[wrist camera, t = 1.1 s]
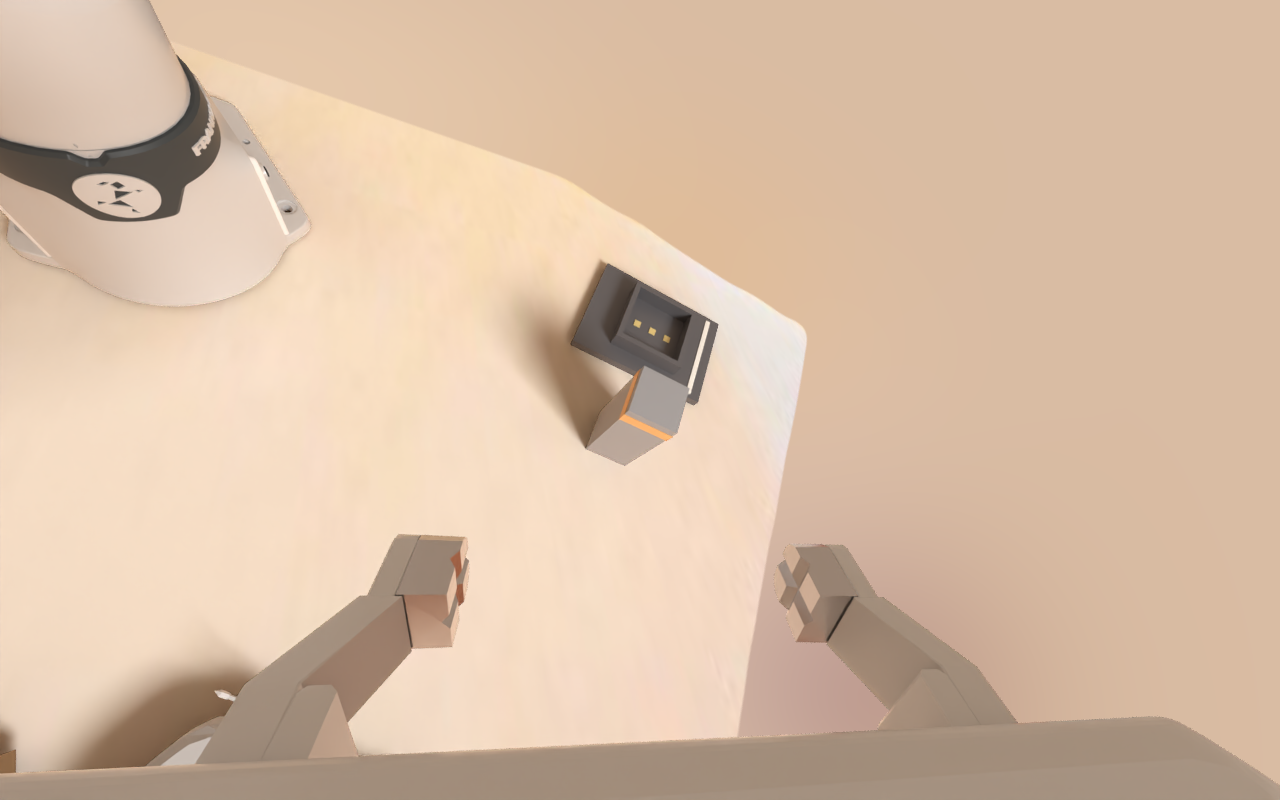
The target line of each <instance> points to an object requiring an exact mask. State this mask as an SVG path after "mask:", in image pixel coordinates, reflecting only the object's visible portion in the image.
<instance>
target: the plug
mask: <svg viewBox="0 0 1280 800" xmlns="http://www.w3.org/2000/svg"><path fill="white" fill-rule="evenodd" d="M689 389H690V388H688V387H686V386H684V385H682V384H680V383H678V382H676V381H674V380H672V379H670V378H668V377H666V376H664V375H662V374H660V373H658V372H656V371H654V370H652V369H650V368H648V367H646V366H643V368H642V369H640V370H639V371H638V372H637V373H636V374H635V375H634V377H633V378H632V379H631V380H630V381H629V382H628V383H627V384H626V385H625V386H624V387H623V388H622V389H621V390H620V391H619V392H618V393H617V394H616V395H615V397H614V398H613V399H612V400H611V401H610V402H609V403H608V404H607V405H606V406H605V407H604V408H603V409H602V410H601V411H600V413H599V415H598V418H597V421H596V423H595V426H594V429H593V431H592V434H591V436H590V439H589V442H588V444H587V447H586V449H587V450H590V451H592V452H594V453H597V454H599V455H601V456H603V457H606V458H608V459H610V460H612V461H615V462H617V463H619V464H622V465H624V466H625V465H627V464H628V463H630V462H632V461H633V460H635V459H636V458H638V457H640V456H641V455H643V454H645V453H646V452H648V451H649V450H651V449H653V448H654V447H656V446H657V445H659V444H661V443H662V442H664V441H667V440H669V439H670V438H672V437H673V436H674V435H675V434H677V432H678V428H679V425H680V421H681V417H682V414H683V410H684V407H685V403H686V399H687V396H688V392H689Z"/></svg>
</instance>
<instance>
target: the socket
mask: <svg viewBox="0 0 1280 800" xmlns="http://www.w3.org/2000/svg"><path fill="white" fill-rule="evenodd" d="M717 328H718V324H717V323H715V322H713V321H712V320H710V319H708V318H706V317H704V316H702V315H701V314H699V313H697V312H695V311H693V310H692V309H690V308H688V307H686V306H684V305H682V304H681V303H679V302H677V301H675V300H673V299H672V298H670V297H668V296H666V295H664V294H662V293H661V292H659V291H657V290H655V289H653V288H652V287H650V286H648V285H646V284H644V283H642V282H641V281H639V280H637V279H635V278H633V277H632V276H630V275H628V274H626V273H624V272H623V271H621V270H619V269H617V268H615V267H613V266H612V265H610V264H607V266H606V268H605V270H604V272H603V274H602V276H601V279H600V281H599V283H598V285H597V287H596V290H595V292H594V294H593V296H592V298H591V301H590V303H589V305H588V307H587V309H586V312H585V314H584V316H583V318H582V320H581V323H580V325H579V327H578V329H577V332H576V334H575V336H574V338H573V340H572V343H571V345H573V346H575V347H577V348H579V349H581V350H583V351H585V352H587V353H589V354H591V355H593V356H595V357H597V358H599V359H601V360H603V361H605V362H607V363H609V364H611V365H613V366H615V367H617V368H619V369H621V370H623V371H625V372H627V373H629V374H631V375H633V376H634V375H635V374H636V373H637V372H638V371H639V370H640V369H642V368H643V366H646V367H648V368H650V369H652V370H654V371H656V372H658V373H660V374H662V375H664V376H666V377H668V378H670V379H672V380H674V381H676V382H678V383H680V384H682V385H684V386H686V387H688V388H690V389H689V392H688V396H687V399H686V402H688V403H690V404H692V405H695V404H696V403H698V400H699V396H700V392H701V389H702V385H703V381H704V377H705V373H706V370H707V366H708V362H709V358H710V355H711V351H712V347H713V343H714V339H715V336H716V332H717Z"/></svg>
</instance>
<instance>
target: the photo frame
mask: <svg viewBox="0 0 1280 800" xmlns="http://www.w3.org/2000/svg"><path fill="white" fill-rule="evenodd" d="M3 773H16V750H13V751H10V752H7V753H4V754H2V755H0V774H3Z"/></svg>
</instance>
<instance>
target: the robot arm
mask: <svg viewBox="0 0 1280 800" xmlns="http://www.w3.org/2000/svg"><path fill="white" fill-rule="evenodd" d="M0 210H1V211H2V212H3V213H4V214H5V215H6V216H7V217H8V218H9V223H8V230H7V242H8V244H9V245H10V246H11V247H12V248H13V249H14V250H15V251H16V252H17V253H18V254H19V255H20V256H22V257H24V258H26V259H29V260H32V261H35V262H39V263H42V264H46V265H50V266H54V267H58V268H62V269H65V270H67V271H70V272H72V273H73V274H75V275H77V276H79V277H80V278H82V279H83V280H85V281H86V282H88V283H89V284H91V285H93V286H94V287H96V288H98V289H100V290H102V291H104V292H106V293H109V294H111V295H114V296H116V297H119V298H122V299H126V300H129V301H133V302H138V303H143V304H149V305H158V306H193V305H201V304H207V303H212V302H216V301H220V300H224V299H227V298H230V297H233V296H235V295H238V294H240V293H242V292H244V291H246V290H248V289H250V288H252V287H253V286H255V285H256V284H258V283H259V282H261V281H262V280H263V279H264V278H265V277H267V276H268V275H269V274H270V273H271V272H272V270H273V269H274V268H275V266H276V265H277V264H278V262H279V260H280V258H281V256H282V255H283V253H284V251H285V250H286V248H287V247H288V246H289V245H291V244H292V243H294V242H295V241H297V240H298V239H300V238H301V237H303V236H304V235H305V234H306V233H308V231H309V230H310V229H311V222H310V220H309V218H308V216H307V214H306V213H305V211H304V210H303V208H302V207H301V205H300V203H299V202H298V200H297V199H296V197H295V196H294V194H293V193H292V191H291V190H290V188H289V187H288V185H287V184H286V182H285V181H284V179H283V178H282V176H281V175H280V173H279V172H278V170H277V168H276V167H275V165H274V164H273V162H272V161H271V159H270V158H269V156H268V155H267V153H266V152H265V150H264V149H263V147H262V146H261V144H260V143H259V141H258V140H257V138H256V137H255V135H254V134H253V132H252V130H251V129H250V127H249V126H248V124H247V123H246V121H245V120H244V118H243V117H242V115H241V114H240V112H239V111H238V110H237V108H236V107H235V106H234V105H232V104H231V103H228V102H226V101H223V100H221V99H218V98H215V97H211V96H209V95H208V93H207V92H206V90H205V89H204V87H203V86H202V84H201V83H200V81H199V80H198V78H197V77H196V76H195V75H194V74H193V73H192V72H191V71H190V70H189V68H188V67H187V65H186V64H185V63H184V62H183V61H182V60H181V59H180V58H179V57H178V56H177V55H176V54H175V52H174V50H173V48H172V46H171V44H170V42H169V40H168V38H167V36H166V34H165V31H164V30H163V27H162V25H161V23H160V21H159V19H158V17H157V15H156V13H155V11H154V9H153V7H152V5H151V3H150V1H149V0H0ZM288 210H289V211H291V212H289V213H286V212H285V211H288ZM467 550H468V541H467V538H466V537H454V536H433V535H405V534H399V535H398V536H397V537H396V538H395V539H394V540H393V542H392V544H391V546H390V548H389V550H388V553H387V555H386V557H385V559H384V561H383V563H382V565H381V567H380V569H379V572H378V574H377V576H376V578H375V580H374V582H373V584H372V586H371V588H370V591H369V593H368V595H367V596H359V597H358V598H356V599H355V600H354V601H352V602H351V603H350V604H348V605H347V606H346V607H345V608H343V609H342V610H341V611H339V612H338V613H337V614H335V615H334V616H333V617H332V618H330V619H329V620H328V621H326V622H325V623H324V624H322V625H321V626H320V627H319V628H317V629H316V630H315V631H313V632H312V633H311V634H309V635H308V636H307V637H306V638H304V639H303V640H302V641H300V642H299V643H298V644H296V645H295V646H294V647H293V648H291V649H290V650H289V651H287V652H286V653H285V654H283V655H282V656H281V657H279V658H278V659H277V660H276V661H274V662H273V663H272V664H270V665H269V666H268V667H266V668H265V669H264V670H263V671H261V672H260V673H259V674H257V675H256V676H255V677H253V678H252V679H251V680H250V681H248V682H247V683H246V684H244V686H243V687H242V689H241V691H240V692H239V694H238V695H237V697H236V699H235V700H234V702H233V703H232V705H231V707H230V708H229V710H228V712H227V713H226V715H225V716H224V718H223V720H222V721H221V723H220V724H219V726H218V728H217V729H216V731H215V732H214V734H213V736H212V737H211V739H210V740H209V742H208V744H207V745H206V747H205V748H204V750H203V752H202V753H201V755H200V756H199V758H198V760H197V761H196V763H195V764H189V765H168V766H148V767H127V768H107V769H86V770H65V771H45V772H24V773H3V774H0V800H1280V785H1279V784H1277V783H1276V782H1274V781H1273V780H1271V779H1270V778H1268V777H1267V776H1265V775H1264V774H1263V773H1261V772H1260V771H1258V770H1257V769H1255V768H1253V767H1252V766H1250V765H1249V764H1247V763H1246V762H1244V761H1243V760H1241V759H1239V758H1238V757H1236V756H1235V755H1233V754H1232V753H1230V752H1228V751H1226V750H1225V749H1224V748H1222V747H1220V746H1219V745H1217V744H1216V743H1214V742H1213V741H1211V740H1209V739H1208V738H1206V737H1205V736H1203V735H1201V734H1199V733H1198V732H1196V731H1194V730H1192V729H1191V728H1189V727H1187V726H1185V725H1183V724H1181V723H1180V722H1178V721H1175V720H1172V719H1169V718H1164V717H1132V718H1112V719H1094V720H1093V719H1092V720H1072V721H1052V722H1032V723H1018V722H1017V721H1016V719H1015V718H1014V717H1013V716H1012V714H1011V713H1010V711H1009V710H1008V709H1007V707H1006V706H1005V704H1004V703H1003V702H1002V700H1001V699H1000V698H999V696H998V695H997V693H996V692H995V691H994V689H993V688H992V687H991V685H990V684H989V683H988V681H987V680H986V678H985V677H984V676H983V674H982V673H981V672H980V670H979V669H978V667H977V666H975V665H974V664H973V663H971V662H970V661H969V660H967V659H966V658H965V657H963V656H962V655H960V654H959V653H958V652H956V651H955V650H954V649H952V648H951V647H950V646H948V645H947V644H946V643H944V642H943V641H941V640H940V639H939V638H937V637H936V636H935V635H933V634H932V633H931V632H929V631H928V630H927V629H925V628H924V627H923V626H921V625H920V624H919V623H917V622H916V621H915V620H913V619H912V618H911V617H909V616H908V615H907V614H905V613H904V612H902V611H901V610H900V609H898V608H897V607H896V606H894V605H893V604H892V603H890V602H889V601H887V600H886V599H885V598H883V597H878V596H877V595H876V593H875V591H874V590H873V589H872V587H871V585H870V584H869V582H868V580H867V579H866V577H865V576H864V574H863V572H862V571H861V569H860V568H859V566H858V565H857V563H856V561H855V560H854V558H853V557H852V555H851V553H850V552H849V551H848V549H847V548H846V547H845V546H843V545H822V544H789V545H788V546H787V547H785V550H784V552H783V556H784V558H785V560H784V561H783V562H781V563H780V564H779V565H778V566H777V568H776V571H775V574H774V587H775V592H776V595H777V598H778V600H779V602H780V603H781V604H782V605H783V606H784V607H785V608H786V609H788V611H787V615H786V620H787V622H788V624H789V627H790V629H791V632H792V634H793V636H794V639H795V641H796V642H825V643H827V645H828V646H829V647H830V648H831V649H832V651H833V652H834V653H835V654H836V655H837V656H838V657H839V658H840V659H841V660H842V661H843V662H844V663H845V664H846V665H847V666H848V667H849V669H850V670H851V671H852V672H853V673H854V674H855V675H856V676H857V677H858V678H859V679H860V680H861V681H862V682H863V683H864V684H865V686H867V688H868V689H869V690H870V691H871V692H872V693H873V694H874V695H875V696H876V697H877V698H878V699H879V700H880V701H881V702H882V703H883V704H884V706H886V708H887V709H888V710H889V712H888V713H887V714H886V715H885V717H884V718H883V719H882V720H881V722H880V723H879V725H878V728H877V729H878V730H874V731H854V732H833V733H814V734H792V735H772V736H751V737H730V738H710V739H689V740H669V741H649V742H630V743H610V744H590V745H570V746H550V747H530V748H509V749H489V750H469V751H449V752H429V753H409V754H389V755H369V756H358V753H357V750H356V747H355V744H354V741H353V738H352V735H351V732H350V729H349V726H348V723H347V722H348V721H349V720H350V719H351V718H352V717H353V716H354V715H355V714H356V712H357V711H358V710H359V709H360V708H361V707H362V706H363V705H364V704H365V702H366V701H367V700H368V699H369V698H370V697H371V696H372V695H373V694H374V692H375V691H376V690H377V689H378V688H379V687H380V686H381V685H382V684H383V682H384V681H385V680H386V679H387V678H388V677H389V676H390V675H391V674H392V672H393V671H394V670H395V669H396V668H397V667H398V666H399V665H400V664H401V662H402V661H403V660H404V659H405V658H406V657H407V656H408V655H409V654H410V652H411V651H412V650H411V649H415V648H439V647H452V645H453V642H454V638H455V634H456V630H457V627H458V623H459V606H460V605H461V604H462V603H463V602H464V600H465V595H466V591H467V586H468V579H469V560H468V559H467V558H465V557H466V554H467Z"/></svg>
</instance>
